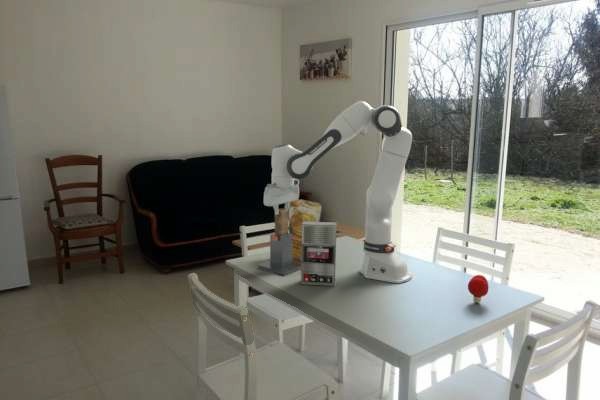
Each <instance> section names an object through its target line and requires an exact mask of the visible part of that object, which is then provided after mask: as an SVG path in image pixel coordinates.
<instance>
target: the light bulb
mask: <svg viewBox="0 0 600 400" xmlns="http://www.w3.org/2000/svg"><path fill="white" fill-rule="evenodd" d="M467 289H468V292H469V293H470V294H471V295H472V297H473V299H472V301H473V302H474V303H475V302H476V303H475V304H479V303H480V302H482V297H485V296H486V295H487V294H488V293H489V282H488V280H487V278H486V277H485V276H484V275H481V274H477V275H474V276H472V278H471V279H470V280H469V282H468V283H467Z"/></svg>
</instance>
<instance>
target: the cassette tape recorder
mask: <svg viewBox="0 0 600 400" xmlns="http://www.w3.org/2000/svg"><path fill="white" fill-rule="evenodd" d="M337 224H338V223H337V222H333V221H332V222H325V221H323V222H322V221H320V222H306V221H303V223H302V260H301V262H300V263H301V270H300V271H301V272H300V273H301V275H300V278H301V279H300V285H308V286H309V285H311V286H312V285H313V286H327V287H328V286H329V287H335V286H336V267H337V265H336V264H337V263H336V262H337V261H336V260H337V259H336V257H337V229H338V226H337Z"/></svg>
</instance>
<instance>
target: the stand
mask: <svg viewBox="0 0 600 400" xmlns="http://www.w3.org/2000/svg"><path fill="white" fill-rule="evenodd" d="M269 236H270V237H269V238H270V239H269V241H270V245H269V246H270V247H269V249H270V251H269V255H270V257H269V259H270V260H267V261H263V262H261V263H259V264H257V269H260V270H263V271H267V272H270V273H274V274H276V275H277V274H278V275H281V276H284V277H286V276H288V275H291V274H293V273H295V272H298V271H301V262H297V261H294V260H293V257H292V242H293V234H290V233H289V232H288V235H285V236H278V235H275V232H274V233H270V234H269Z"/></svg>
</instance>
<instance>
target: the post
mask: <svg viewBox="0 0 600 400" xmlns="http://www.w3.org/2000/svg"><path fill="white" fill-rule="evenodd" d="M278 209H279V210H280V214H278V215H276V214H275V213H274V233H275V235H278V236H285V235H288V233H289V209H288V210H287V209H283V208H278Z"/></svg>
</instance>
